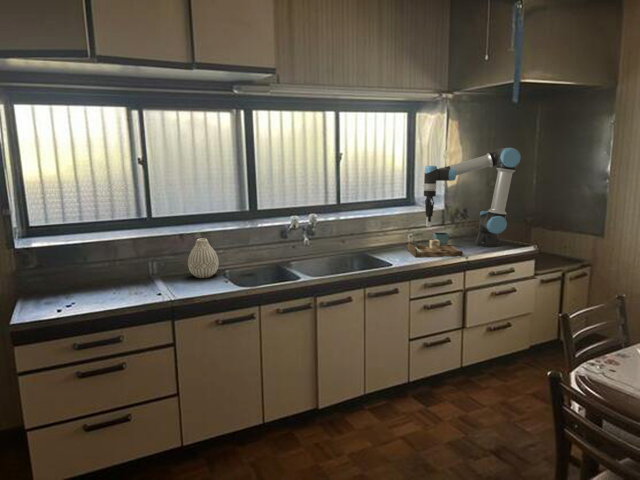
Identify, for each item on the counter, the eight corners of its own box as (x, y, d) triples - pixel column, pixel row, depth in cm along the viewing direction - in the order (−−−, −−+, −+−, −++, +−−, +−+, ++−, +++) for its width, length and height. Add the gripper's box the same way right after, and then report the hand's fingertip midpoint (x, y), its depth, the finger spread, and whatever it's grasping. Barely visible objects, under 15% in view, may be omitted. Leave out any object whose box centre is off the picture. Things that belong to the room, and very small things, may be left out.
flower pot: (449, 248, 320) (449, 234, 318) (435, 248, 320) (435, 234, 318) (445, 245, 329) (446, 232, 327) (432, 245, 329) (433, 232, 327)
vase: (182, 277, 258) (180, 240, 255) (206, 270, 271) (204, 235, 267) (201, 281, 248) (198, 243, 245) (225, 275, 261) (223, 238, 257)
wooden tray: (451, 249, 316) (452, 241, 315) (462, 256, 296) (462, 248, 295) (407, 250, 314) (407, 243, 313) (415, 257, 295) (415, 249, 294)
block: (437, 247, 312) (437, 239, 311) (439, 248, 307) (439, 240, 306) (429, 247, 311) (429, 239, 310) (431, 248, 306) (431, 241, 305)
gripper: (421, 189, 317) (420, 225, 322) (426, 191, 305) (425, 228, 309) (432, 189, 318) (431, 224, 322) (438, 190, 305) (437, 228, 309)
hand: (428, 226), depth 316 cm, fingers closed
